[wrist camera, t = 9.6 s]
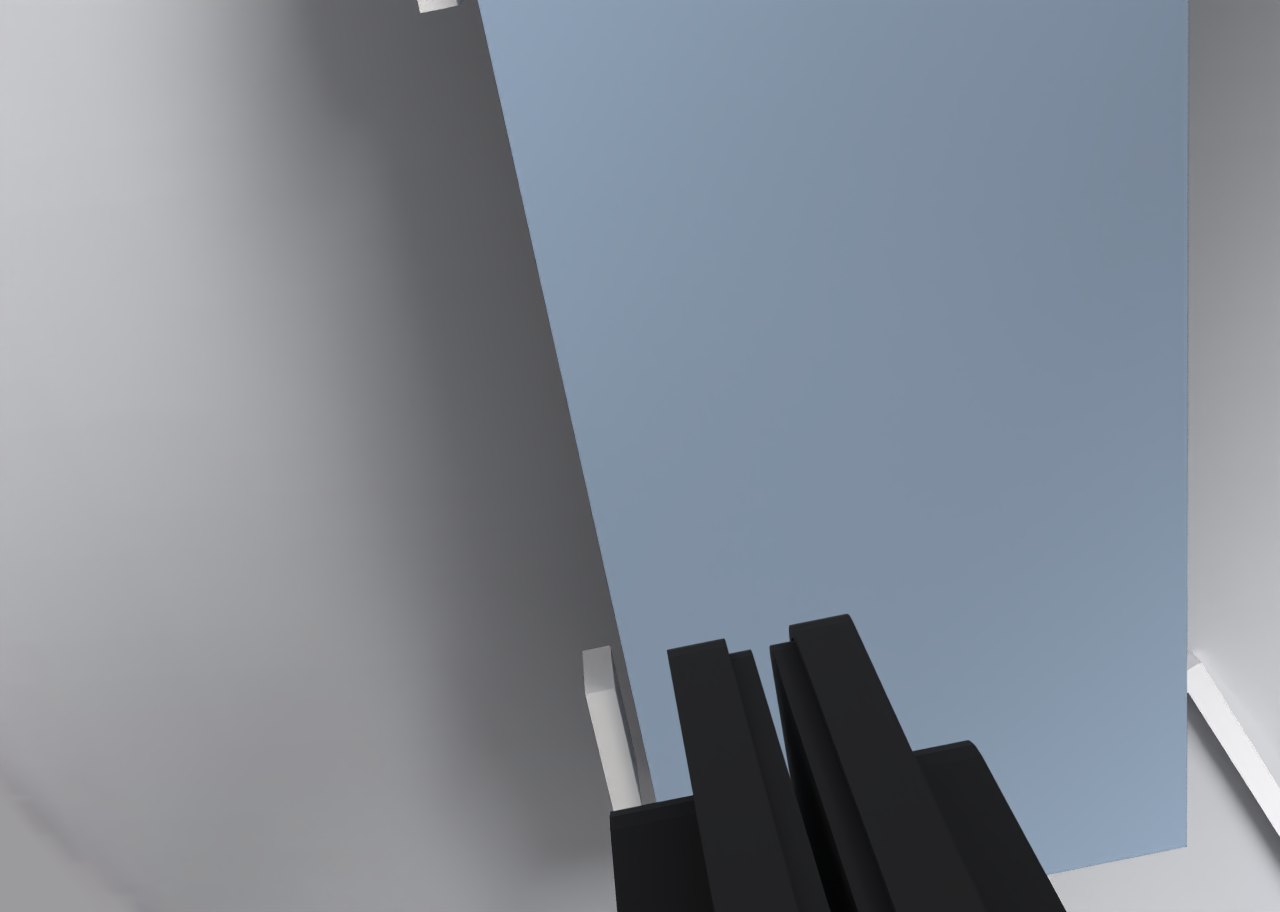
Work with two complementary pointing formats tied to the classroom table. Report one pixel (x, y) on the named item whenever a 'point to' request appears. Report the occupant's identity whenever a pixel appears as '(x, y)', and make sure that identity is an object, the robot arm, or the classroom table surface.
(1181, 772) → the duct cover
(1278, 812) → the photo frame
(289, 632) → the classroom table surface
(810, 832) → the robot arm
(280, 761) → the classroom table surface
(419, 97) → the classroom table surface
